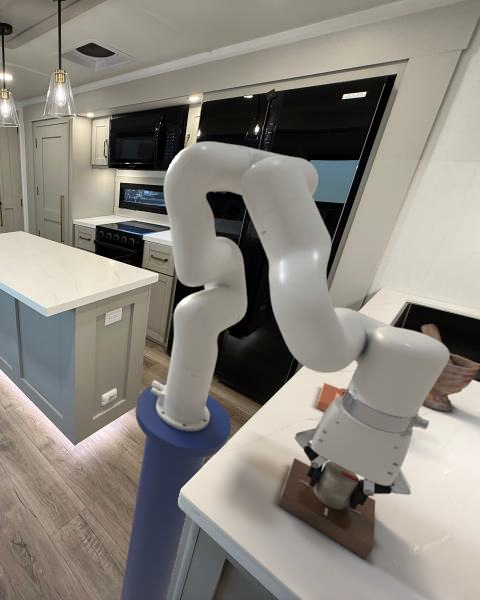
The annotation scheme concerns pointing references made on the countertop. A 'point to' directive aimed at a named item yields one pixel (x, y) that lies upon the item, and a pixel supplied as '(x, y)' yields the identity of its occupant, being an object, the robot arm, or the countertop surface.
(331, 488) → the lock knob
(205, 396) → the robot arm
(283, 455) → the countertop surface
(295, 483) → the lock panel
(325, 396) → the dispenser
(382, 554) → the countertop surface
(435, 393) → the mortar and pestle
